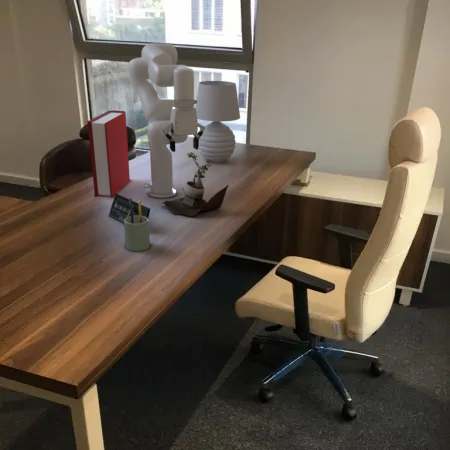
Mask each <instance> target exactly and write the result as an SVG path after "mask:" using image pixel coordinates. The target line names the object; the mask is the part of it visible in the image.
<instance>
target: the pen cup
mask: <svg viewBox="0 0 450 450" xmlns="http://www.w3.org/2000/svg"><path fill="white" fill-rule="evenodd" d="M128 199H129V200H130V215H131V216H130V217H127V218H125V219H124V223H123V229H124V239H125V240H124V241H125V248H126V249H127V250H128V251H130V252H131V251H132V252H143V251H146V250H148V249H149V248H150V247H151V242H150V223H149V221H150V220H149V218H147V217H144V216H142V215H141V205H142V201H141V200H140V199H139V200H138V201H137V203H138V204H139V216H133V204H132V201H133V198H132V197H129V198H128Z"/></svg>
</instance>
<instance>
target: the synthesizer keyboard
mask: <svg viewBox="0 0 450 450" xmlns="http://www.w3.org/2000/svg"><path fill="white" fill-rule="evenodd" d="M129 199H130V198H128V197H125V196H123V195H121V194H119V193H115V195H114V196H113V200H112V203H111V207H110V210H109V213H108V216H109V217H111V218H113V219H114V220H117V221H119V222H121V223H122V224H124V219H125V218H127V217H130V216H131V215H130V200H129ZM132 204H133V216H139V204H138V201H137V202H136V201H134V200H132ZM150 213H151V208H150V207H148V206H145V205H143V204H141V215H142V216H144V217H147V218H148V219H149V217H150Z"/></svg>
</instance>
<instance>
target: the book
mask: <svg viewBox="0 0 450 450" xmlns="http://www.w3.org/2000/svg"><path fill="white" fill-rule="evenodd" d="M127 128H128V127H127V113H126V111H125V110H115V109H114V110H113V109H112V110H107V111H105V112H103V113H101V114H99V115H97V116H95V117H93V118H91V119H89V120H87V130H88V131H87V132H88V141H89V142H88V143H89V152H90V162H91V171H92V180H93V182H92V183H93V193H94V197H96V196H109V197H111V198H114V196H115V193H116V194H118V193H119V192H120V191H121V190H122V189H123V188H124V187H126V186H127V184H128V183H130V181H131V178H130V177H131V176H130V162H129V145H128V144H129V143H128V130H127Z"/></svg>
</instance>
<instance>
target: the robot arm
mask: <svg viewBox="0 0 450 450" xmlns="http://www.w3.org/2000/svg"><path fill="white" fill-rule="evenodd" d="M178 57H179V56H178V51H177V48H176V47H175V45H174V44H172V43H161V42H160V43H159V42H158V43H157V42H156V43H155V42H154V43H148V44H146V45H144V46H143V48H142V49H141V57H135V58H133V59H131V60H130V61H129V62H128V66H127V71H128V77H129V82H130V83H131V85H132V87H133V89H134V91H135V92H136V94H137V95H138V98H139V102H140V104H141V108H142V110H143V111H142V112H143V114H144V117H145V120H146V121H148V122H149V124H148V125H147V127H146V135H147V136H146V137H147V141H148V145H149V154H150V157H149V159H150V179H151V182H147V181H146V182H144V183H143V187H144V189H148V196H150V197H152V198H156V199H157V198H158V199H167V198H172V197H174V196H176V195H177V190H176V189H174V178H173V176H174V175H173V173H174V172H173V154H172V152H173V153H175V152H176V144H183V143H185V142H186V141H187V140H188V137H189V136H193V138H192V148H193V149H194V150H196V151H199V149H198V147H199V139H200V137H201V136H202V134H203V132H204V130H205V126H206V125H203V124H201V123H199V122H198V119H197V113H196V108H195V104H197V100H196V98H195V71H194V69H193V68H191V67H188V66H187V65H185V64H177V62H178ZM149 80H150V81H151V82H152V83H153V84H152V83H151V82H150V81H149ZM155 86H156V87H159V88H170V87H172V88H173V98H161V97H160V94H159V91H158V89H157V88H156V87H155ZM167 145H169V148H168V147H167Z"/></svg>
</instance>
